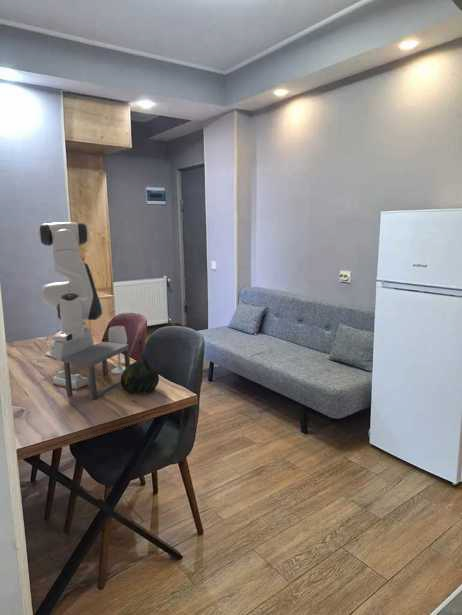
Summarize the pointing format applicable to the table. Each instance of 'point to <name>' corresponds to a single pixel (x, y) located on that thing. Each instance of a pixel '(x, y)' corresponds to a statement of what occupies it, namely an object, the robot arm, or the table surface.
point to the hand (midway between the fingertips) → (76, 363)
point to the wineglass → (119, 336)
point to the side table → (92, 358)
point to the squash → (140, 377)
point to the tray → (75, 380)
